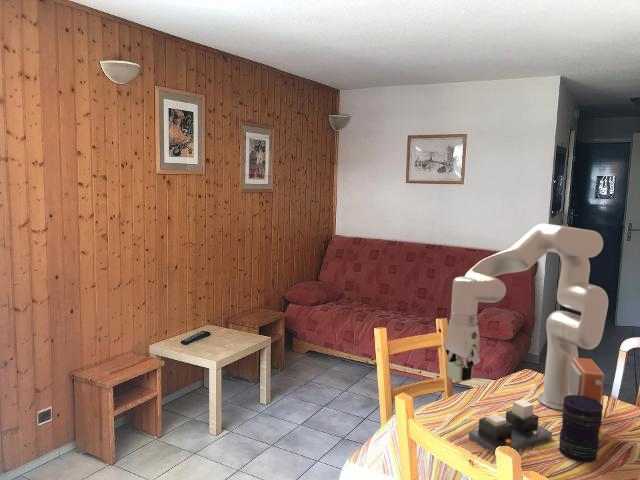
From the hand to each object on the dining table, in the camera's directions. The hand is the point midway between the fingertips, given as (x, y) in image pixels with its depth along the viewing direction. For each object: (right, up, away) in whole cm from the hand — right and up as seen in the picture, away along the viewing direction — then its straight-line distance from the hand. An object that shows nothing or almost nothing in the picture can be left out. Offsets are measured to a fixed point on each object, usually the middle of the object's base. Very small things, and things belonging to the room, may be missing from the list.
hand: (459, 375), depth 161 cm
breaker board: (+13, -17, -6) cm, 22 cm away
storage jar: (+29, -19, -13) cm, 37 cm away
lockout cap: (0, -1, 0) cm, 1 cm away
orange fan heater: (+36, -17, -2) cm, 40 cm away
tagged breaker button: (+8, -15, -8) cm, 19 cm away
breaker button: (+18, -12, -3) cm, 22 cm away
